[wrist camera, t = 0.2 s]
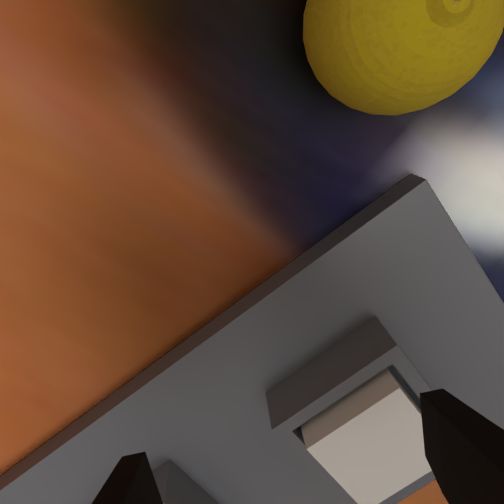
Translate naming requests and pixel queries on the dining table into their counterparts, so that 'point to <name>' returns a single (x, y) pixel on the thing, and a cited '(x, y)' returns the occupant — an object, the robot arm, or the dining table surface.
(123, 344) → the dining table surface
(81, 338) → the dining table surface
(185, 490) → the grey key base
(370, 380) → the white key
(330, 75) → the lemon
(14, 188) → the dining table surface
